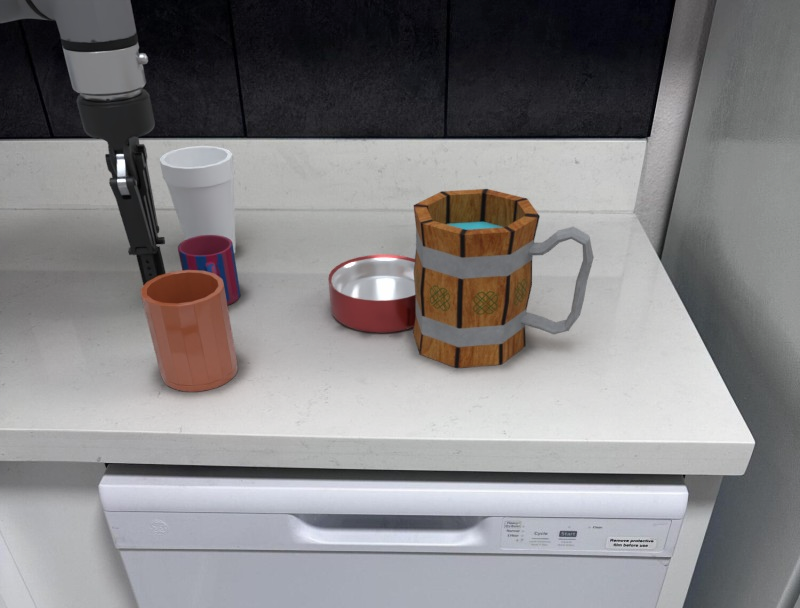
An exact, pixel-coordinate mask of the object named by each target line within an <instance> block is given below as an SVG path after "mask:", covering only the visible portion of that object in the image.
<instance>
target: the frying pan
mask: <svg viewBox="0 0 800 608" xmlns="http://www.w3.org/2000/svg"><path fill="white" fill-rule="evenodd" d="M415 255H416V243H415V244H414V246H413V247H412V249H411V250H410V252H409V253H408V254H407V256H404V255H398V254H372V255H363V256H358V257H354V258H352V259H348V260H346V261H343V262H341V263H339V264H338V265H336V266H335V267H334V268H332V269H331V271H330V272H329V274H328V277H327V278H328V279H327V281H328V292H329V293H328V294H329V309H330V310H331V311H330V312H331V314H332V315H333V317H334V318H335V320H336V321H338V322H339V323H340V324H342V325H344V326H346V327H347V328H350V329H353V330H355V331H359V332H360V331H361V332H365V333H377V334H379V333H381V334H382V333H383V334H384V333H385V334H386V333H387V334H388V333H396V332H401V331H406V330H409V329H413V328H414V322H415V315H416V294H415V282H414V265H415Z"/></svg>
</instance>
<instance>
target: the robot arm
mask: <svg viewBox="0 0 800 608" xmlns="http://www.w3.org/2000/svg"><path fill="white" fill-rule="evenodd" d="M26 19H33V20H43V21H44V20H45V21H50V22H56V25H57V29H58V32H59V36H60V43H61V46H62V50H63V55H64V59H65V64H66V67H67V71H68V75H69V80H70V83H71V87H72V90H73V91H74V92H76V93H78V95H77V98H76V105H77V110H78V112H79V116H80V120H81V124H82V128H83V131H84V133H85V134H86V135H87V136H89V137H91V138H93V139H97V140H98V139H100V140H103V141H105V142H106V143H107V148H108V149H107V150H108V153H106V154H105V155H104V157H105V163H106V167H107V170H108V171H109V173H110V174H111V177H109V180H108V185H109V187H110V189H111V190H112V193H113V196H114V198H115V201H116V204H117V207H118V211H119V214H120V218H121V221H122V225H123V227H124V231H125V235H126V238H127V241H128V244H129V247H128V252H127V254H128V255H129V256H131V255H132V256H136V260H137V264H138V268H139V272H140V273H139V274H140V277H141V281H142V285H143V286H144V285H145V284H146V282H148V281H150V280H151V279H153V278H155V277H157V276H159V275H163V274H166V273H167V272H166V269H165V264H164V259H163V254H162V250H161V247H160V246H161V245H166V239H165V238H166V237H165V236H159V235H158V234H159V233H160V226H159V222H158V218H157V212H156V205H155V201H154V194H153V189H152V183H151V178H150V172H149V166H148V153H147V148H146V146H145V144H144V143H140V139H139V137H143V136H145V135H148V134H149V133H150V132H152V131H153V130H154V128H155V125H156V122H155V117H154V116H155V115H154V112H153V107H152V101H151V95H150V93H149V92H148V91H147V90H146V89H144V87H145V85H146V83H147V79H146V74H145V68H144V65H147V64H148V62H149V57H148V56H147V54H146V53H144V52H139V49H140V45H139V37H138V33H137V28H136V23H135V18H134V13H133V7H132V3H131V0H0V24H5V23H9V22H14V21H19V20H26ZM143 286H142V287H143Z"/></svg>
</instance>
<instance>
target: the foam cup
mask: <svg viewBox="0 0 800 608" xmlns="http://www.w3.org/2000/svg"><path fill="white" fill-rule="evenodd" d="M159 164H160V165H159V166H160V171H161V174H162V179H163V180H164V182H165V185H166V187H167V189H168V192H169V195H170V198H171V202H172V205H173V207H174V210H175V213H176V217H177V220H178V222H179V225H180V229H181V232H182V234H183V238H184V241H185V240H187V239H189V238H192V237H196V236H202V235H219V236H224V237H227V238H229V239H230V240H231V241H232V243H233V249H234V255H235V254H236V210H235V209H236V207H235V205H236V204H235V175H236V168H235V163H234V155H233V153H232V152H231V151H230V150H229V149H227V148H223V147H220V146H212V145H197V146H196V145H195V146H185V147H182V148H177V149H176V148H175V149H173V150H170V151H168V152H166V153H164V154H163V155H162V156H161V157H160V158H159Z"/></svg>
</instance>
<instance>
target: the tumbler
mask: <svg viewBox="0 0 800 608" xmlns="http://www.w3.org/2000/svg"><path fill="white" fill-rule="evenodd" d="M165 273H166V274H163V275H159V276H157V277H155V278H153V279H151V280H150V281H148V282H146V284H145V285H144V286H142V287H141V288H140V297H141V301H142V305H143V308H144V314H145V318H146V321H147V327H148V330H149V333H150V337H151V342H152V346H153V350H154V354H155V357H156V361H157V365H158V370H159V374H160V376H161V379H162V381H163V383H164V384H165V385H166V386H168V387H170V388H171V389H173V390H177V391H181V392H188V393H191V392H204V391H209V390H213V389H216V388H220V387H221V386H224V385H226V384H227V383H229V382H230V381H232V379H233V378H234V377H236V374H237V373H238V370H239V369H238V368H239V367H238V359H237V354H236V353H237V352H236V349H235V348H236V347H235V343H234V341H235V340H234V337H233V329H232V324H231V317H230V313H229V305H227V300H226V294H225V289H224V283H223V280H222V278H220V277H219V276H217V275H216V274H214V273H210V272H206V271H199V270H183V271H182V270H176V271H169V272H165Z"/></svg>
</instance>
